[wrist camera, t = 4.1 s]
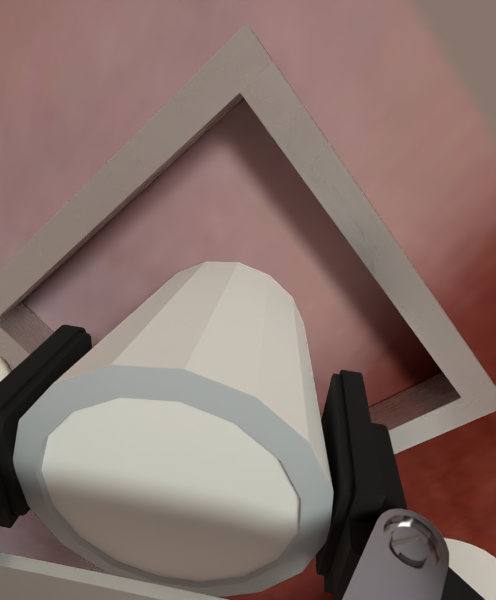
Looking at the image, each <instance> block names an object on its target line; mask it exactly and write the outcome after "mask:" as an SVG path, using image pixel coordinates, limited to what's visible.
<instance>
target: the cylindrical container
mask: <svg viewBox="0 0 496 600" xmlns="http://www.w3.org/2000/svg"><path fill="white" fill-rule="evenodd" d="M444 540H445V541H446V544H447V547H448V550H449V567H450V568H451V569H452V570H453V571H454V572H455V573H456V574H458V575H459V576H460V577H461V578H462V579H463V580H464V581H465V582H466V583H467V584H469V585H470V586H471V587H472V588H473V589H474V590H475V591H476V592H477V593H478V594H479V595H481V596H482V597H483V598H484V599H485V600H496V558H495V557H494V556H492V555H491V554H489V553H488V552H486V551H485V550H483V549H480V548H478V547H476V546H474V545H471V544H468V543H465V542H461V541H458V540H454V539H447V538H444Z"/></svg>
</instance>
